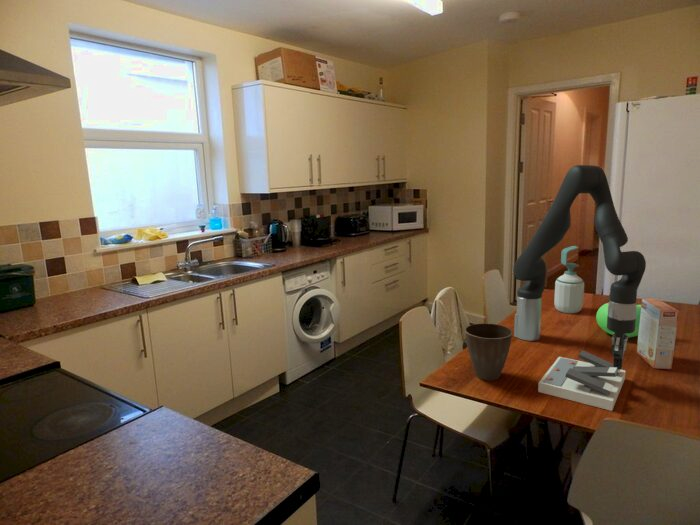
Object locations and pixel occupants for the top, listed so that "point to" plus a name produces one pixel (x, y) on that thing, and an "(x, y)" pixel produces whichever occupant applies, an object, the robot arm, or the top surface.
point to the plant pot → (488, 348)
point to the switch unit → (579, 385)
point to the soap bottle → (569, 287)
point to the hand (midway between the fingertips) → (617, 367)
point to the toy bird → (603, 315)
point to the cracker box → (657, 333)
